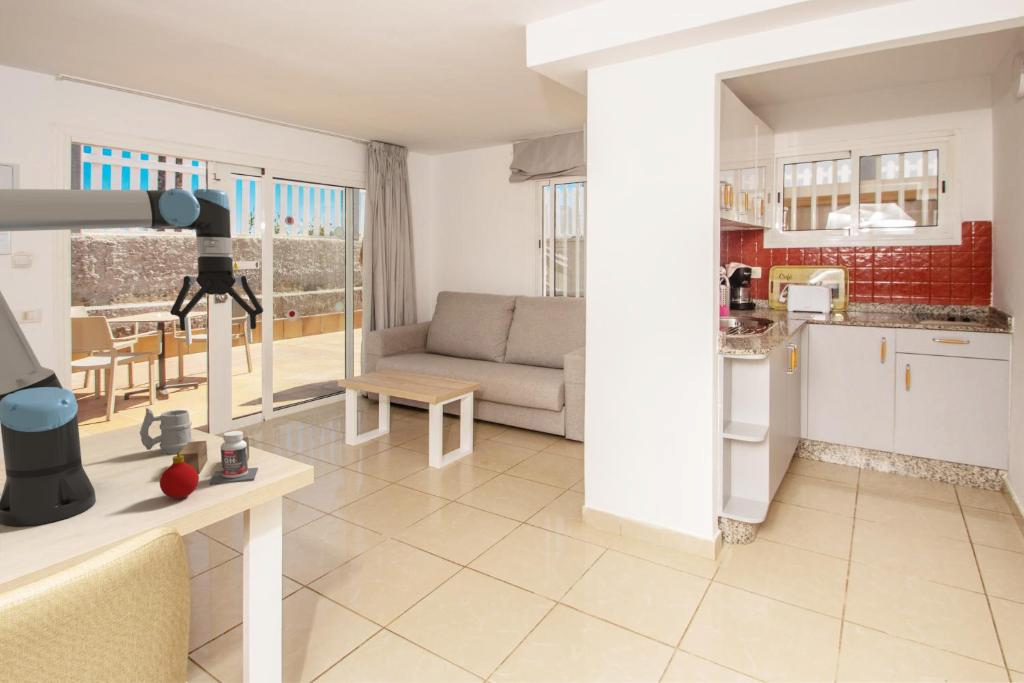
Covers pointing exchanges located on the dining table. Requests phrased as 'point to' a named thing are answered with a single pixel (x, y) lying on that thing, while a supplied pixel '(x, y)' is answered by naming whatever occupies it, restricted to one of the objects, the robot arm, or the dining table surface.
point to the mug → (168, 430)
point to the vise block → (200, 454)
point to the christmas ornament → (179, 478)
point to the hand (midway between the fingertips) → (220, 343)
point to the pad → (219, 478)
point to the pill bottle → (234, 455)
